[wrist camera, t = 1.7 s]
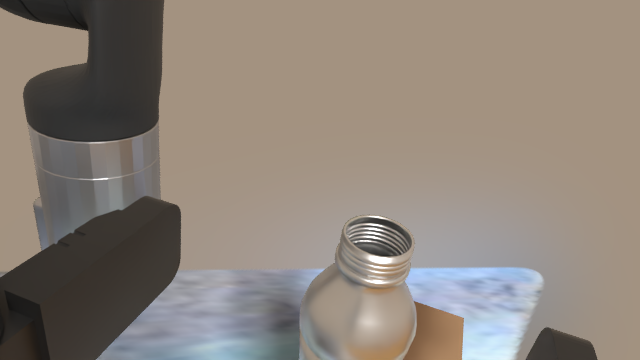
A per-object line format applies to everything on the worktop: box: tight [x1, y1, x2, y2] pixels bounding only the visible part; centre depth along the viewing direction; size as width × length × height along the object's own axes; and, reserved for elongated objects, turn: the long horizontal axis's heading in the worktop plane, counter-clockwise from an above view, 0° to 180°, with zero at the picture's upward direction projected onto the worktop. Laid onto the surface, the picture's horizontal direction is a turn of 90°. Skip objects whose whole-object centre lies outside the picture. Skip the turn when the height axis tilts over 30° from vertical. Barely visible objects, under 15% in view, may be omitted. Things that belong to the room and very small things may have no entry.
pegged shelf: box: [403, 301, 464, 360], centre depth 38 cm, size 10×10×4 cm
